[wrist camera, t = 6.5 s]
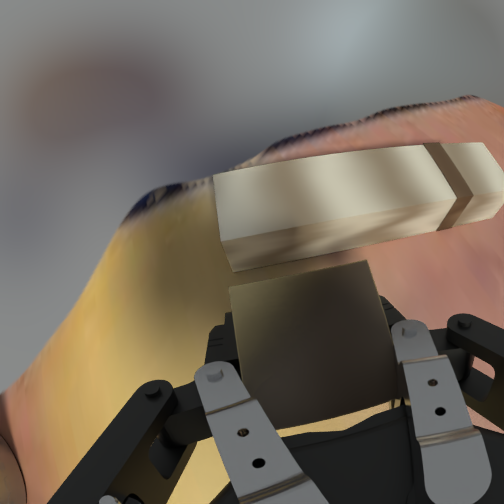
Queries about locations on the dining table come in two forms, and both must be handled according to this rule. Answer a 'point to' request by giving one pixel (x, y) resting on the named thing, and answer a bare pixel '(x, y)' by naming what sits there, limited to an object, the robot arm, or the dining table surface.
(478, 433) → the robot arm
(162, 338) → the dining table surface
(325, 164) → the board
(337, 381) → the brown rectangular block
